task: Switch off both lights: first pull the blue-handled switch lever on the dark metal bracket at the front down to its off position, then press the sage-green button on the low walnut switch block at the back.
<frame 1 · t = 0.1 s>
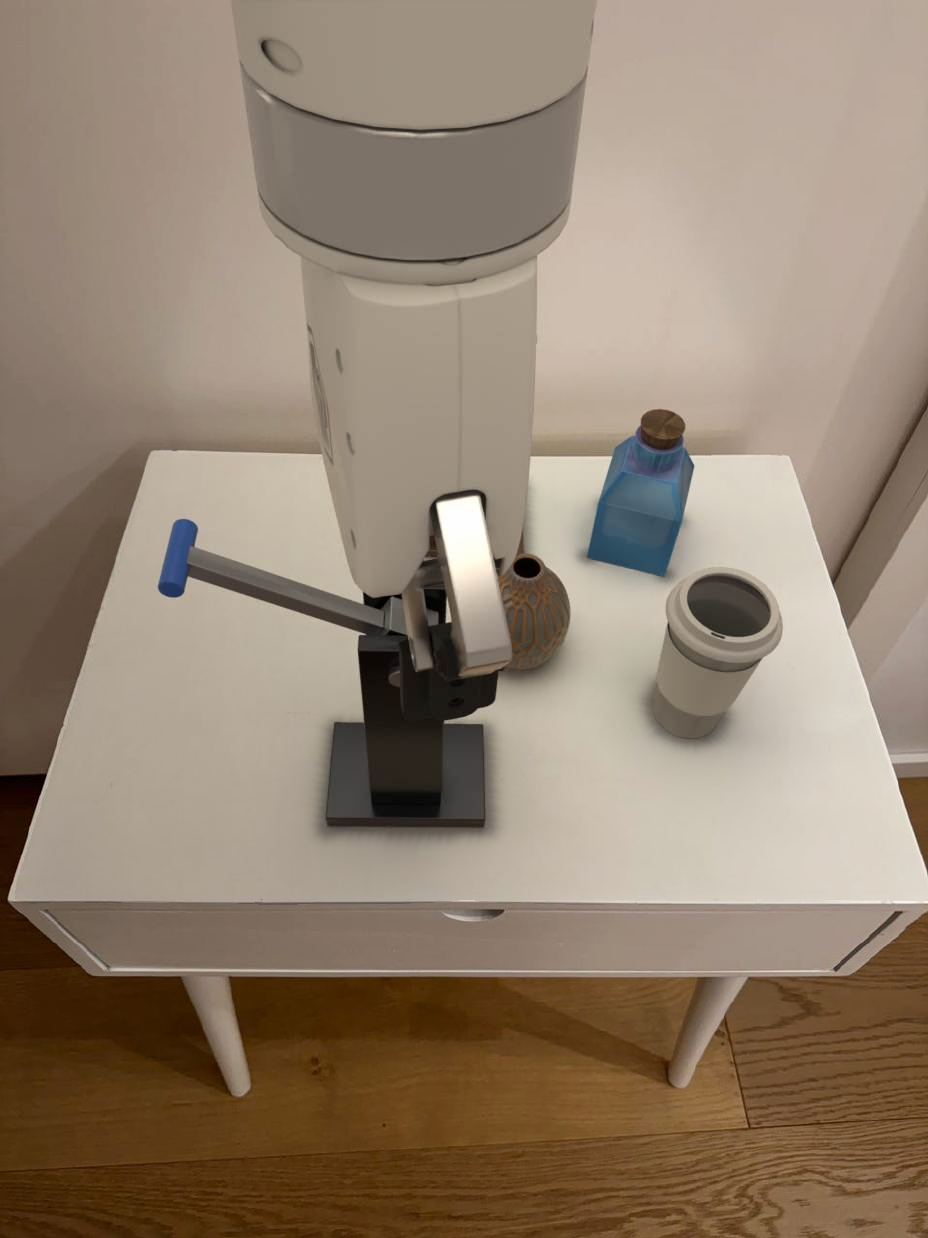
hand: (417, 599, 36), 28 cm above the nightstand, tool pointing down, fingers open, 9 cm apart
cup: (684, 711, 67), on the nightstand
light lever: (304, 599, 48), point 19 cm above the nightstand, hinge at 28.0°
button block: (447, 519, 77), on the nightstand
light button: (448, 493, 74), point 3 cm above the nightstand, slide at 0.1 cm
switch bracket: (407, 778, 63), on the nightstand
vase: (516, 646, 70), on the nightstand
perfume bottle: (632, 541, 76), on the nightstand
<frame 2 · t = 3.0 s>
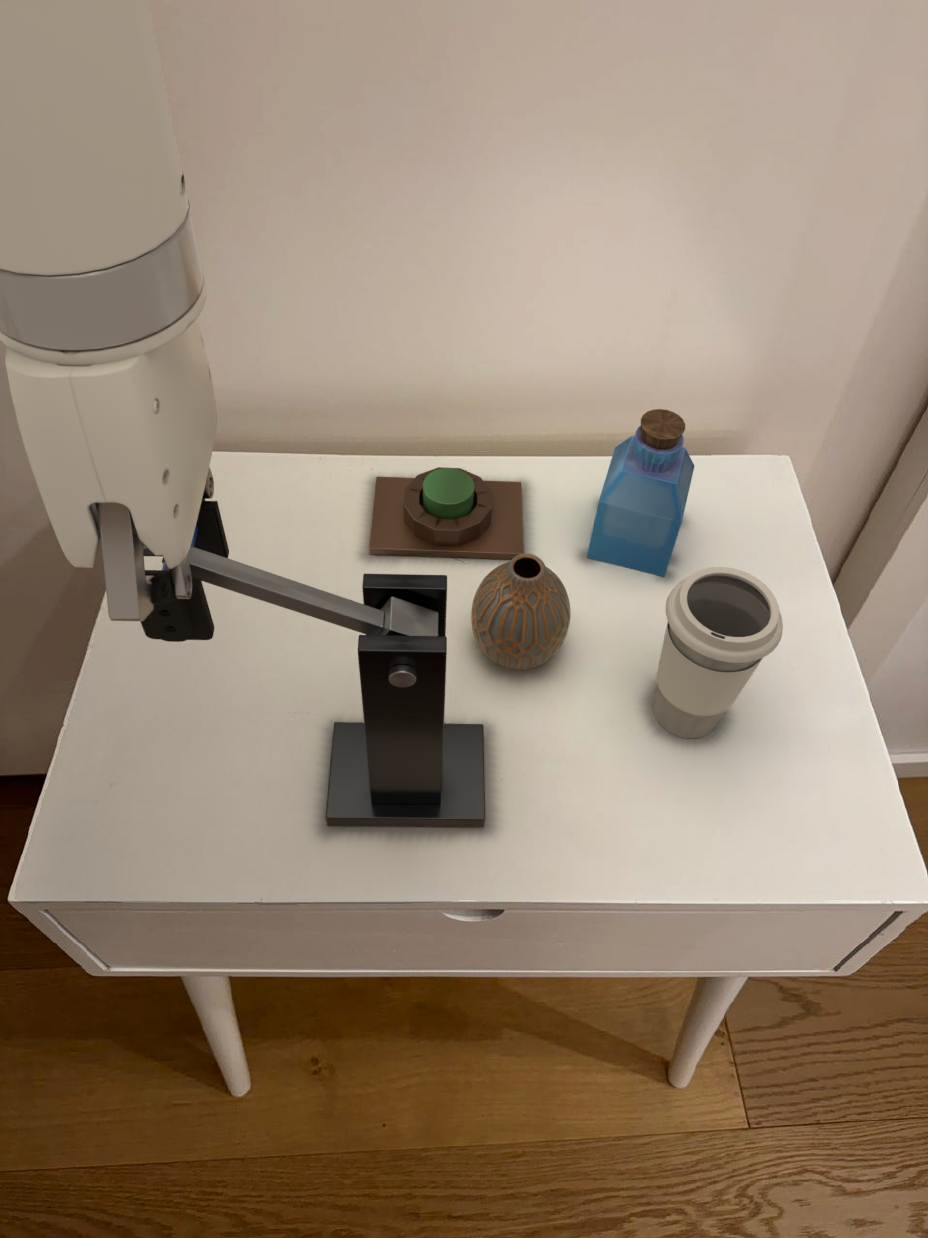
hand: (189, 593, 47), 19 cm above the nightstand, tool pointing down, fingers closed on light lever, 4 cm apart
light lever: (304, 599, 48), point 19 cm above the nightstand, hinge at 28.0°, touching gripper
everything else where it was.
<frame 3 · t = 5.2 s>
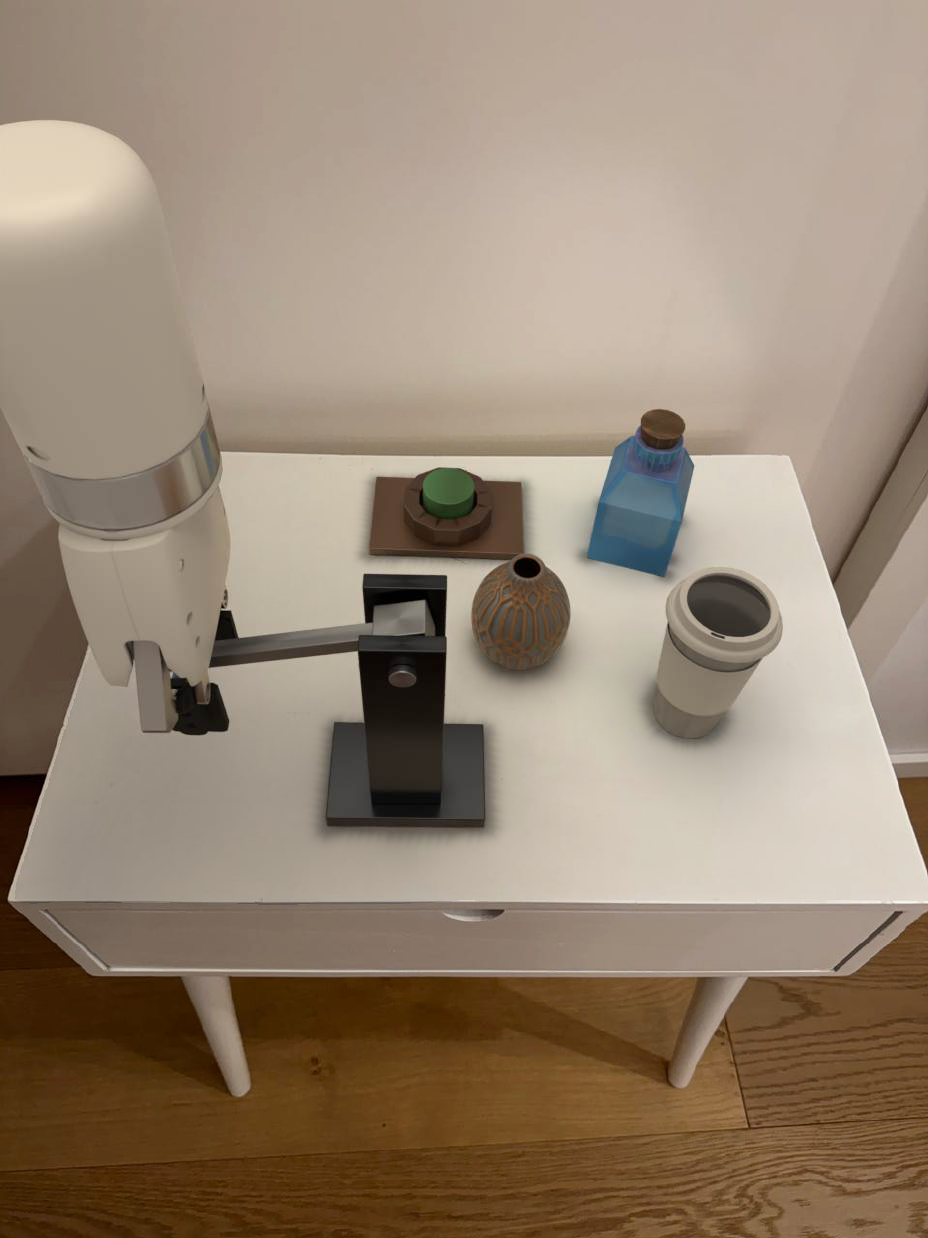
hand: (207, 688, 54), 10 cm above the nightstand, tool pointing down, fingers closed on light lever, 4 cm apart
light lever: (301, 644, 51), point 15 cm above the nightstand, hinge at -12.4°, touching gripper
everything else where it was.
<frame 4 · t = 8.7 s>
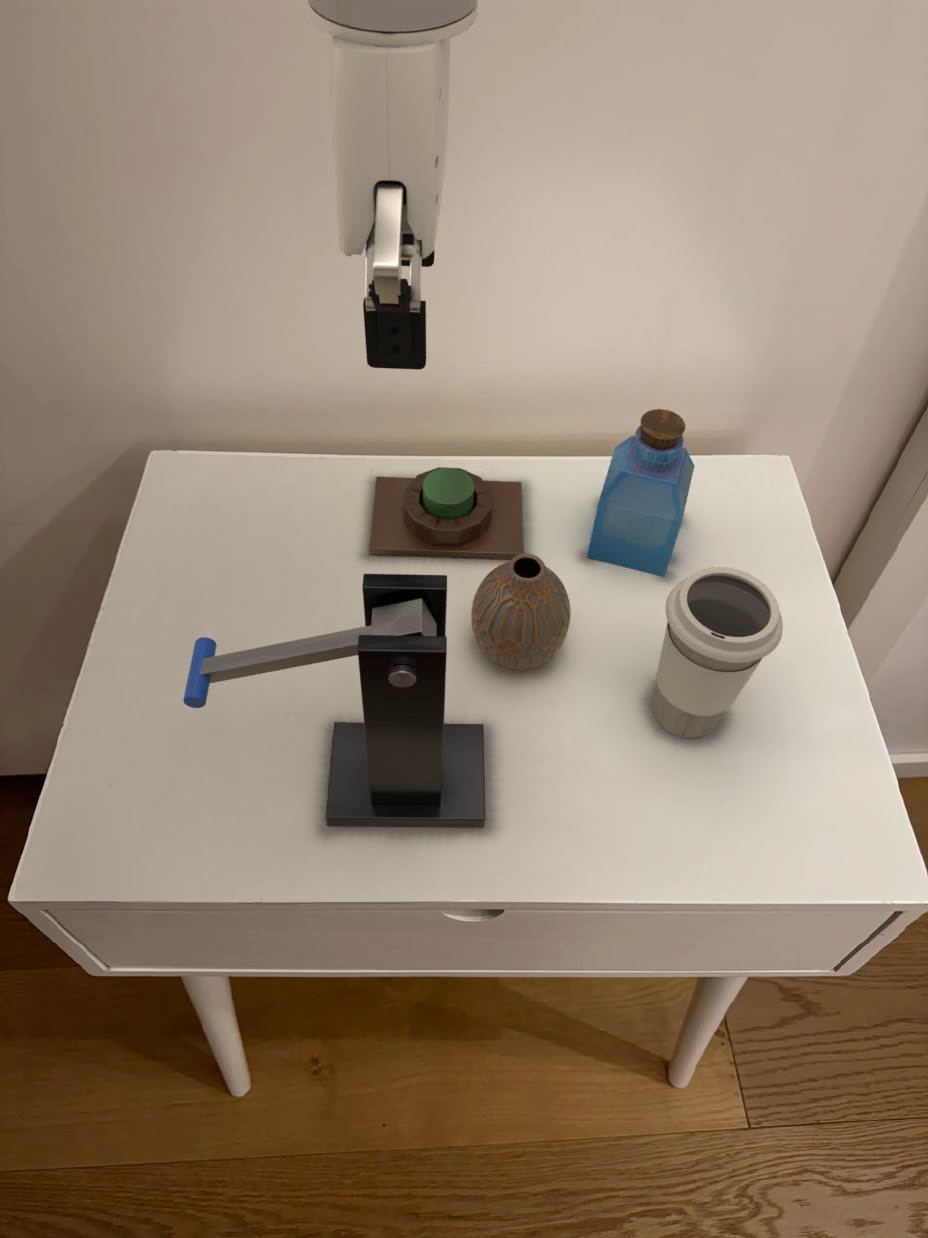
hand: (402, 311, 55), 23 cm above the nightstand, tool pointing down, fingers open, 9 cm apart
light lever: (306, 651, 51), point 14 cm above the nightstand, hinge at -19.5°
everything else where it was.
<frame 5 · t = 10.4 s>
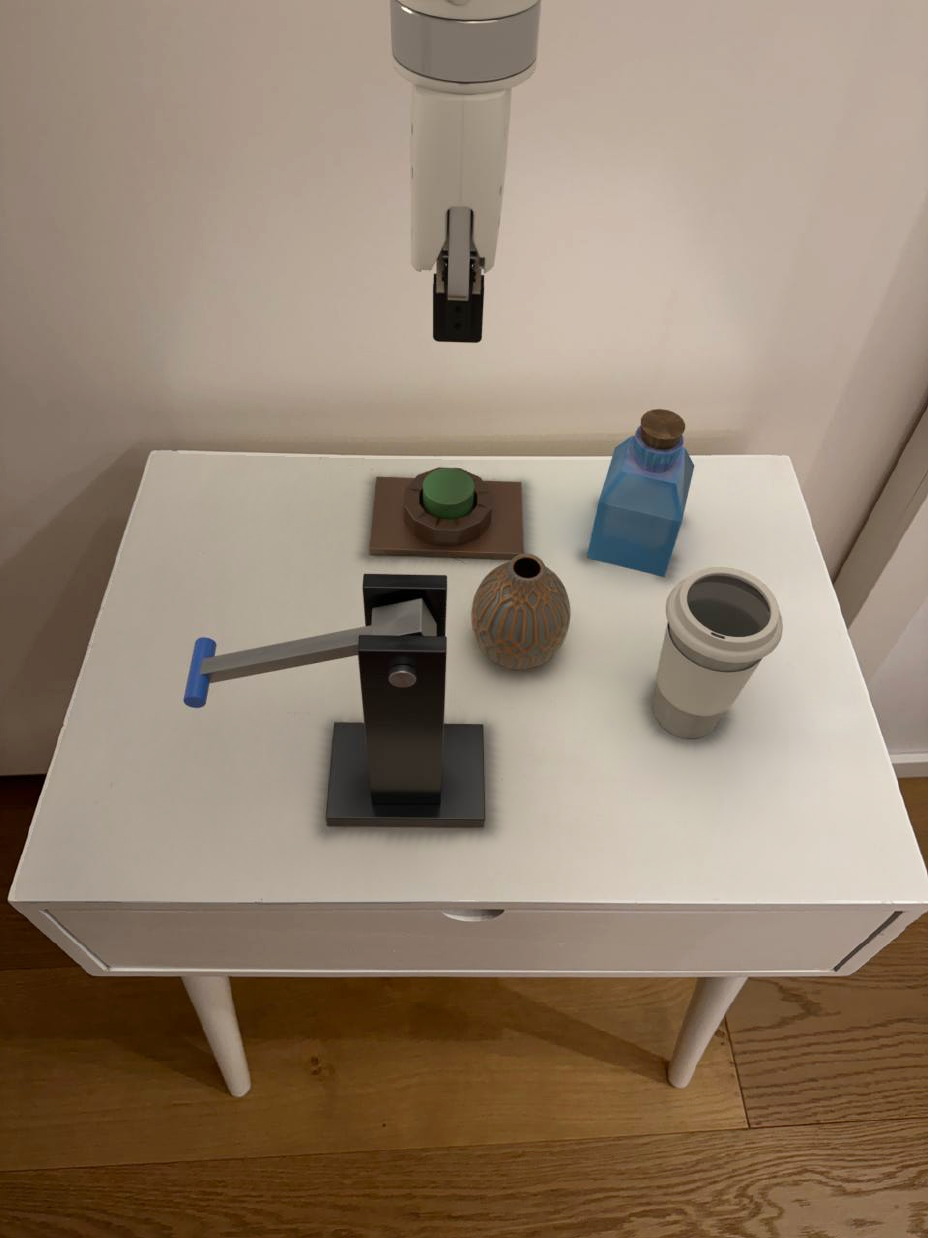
hand: (457, 334, 63), 18 cm above the nightstand, tool pointing down, fingers closed
nothing on the nightstand moved.
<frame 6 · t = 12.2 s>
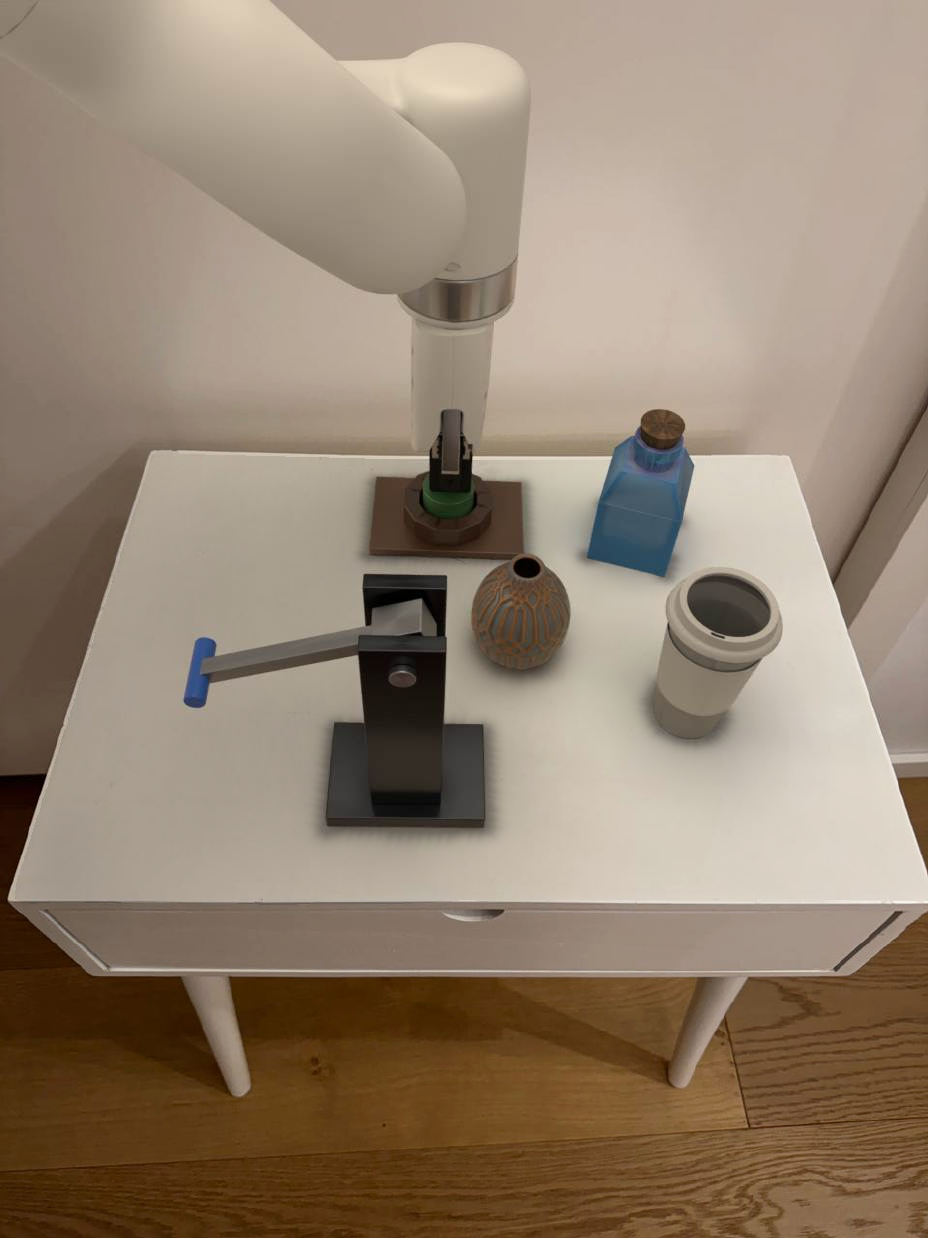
hand: (450, 484, 74), 4 cm above the nightstand, tool pointing down, fingers closed
light button: (448, 493, 74), point 3 cm above the nightstand, slide at 0.1 cm, touching gripper
everything else where it was.
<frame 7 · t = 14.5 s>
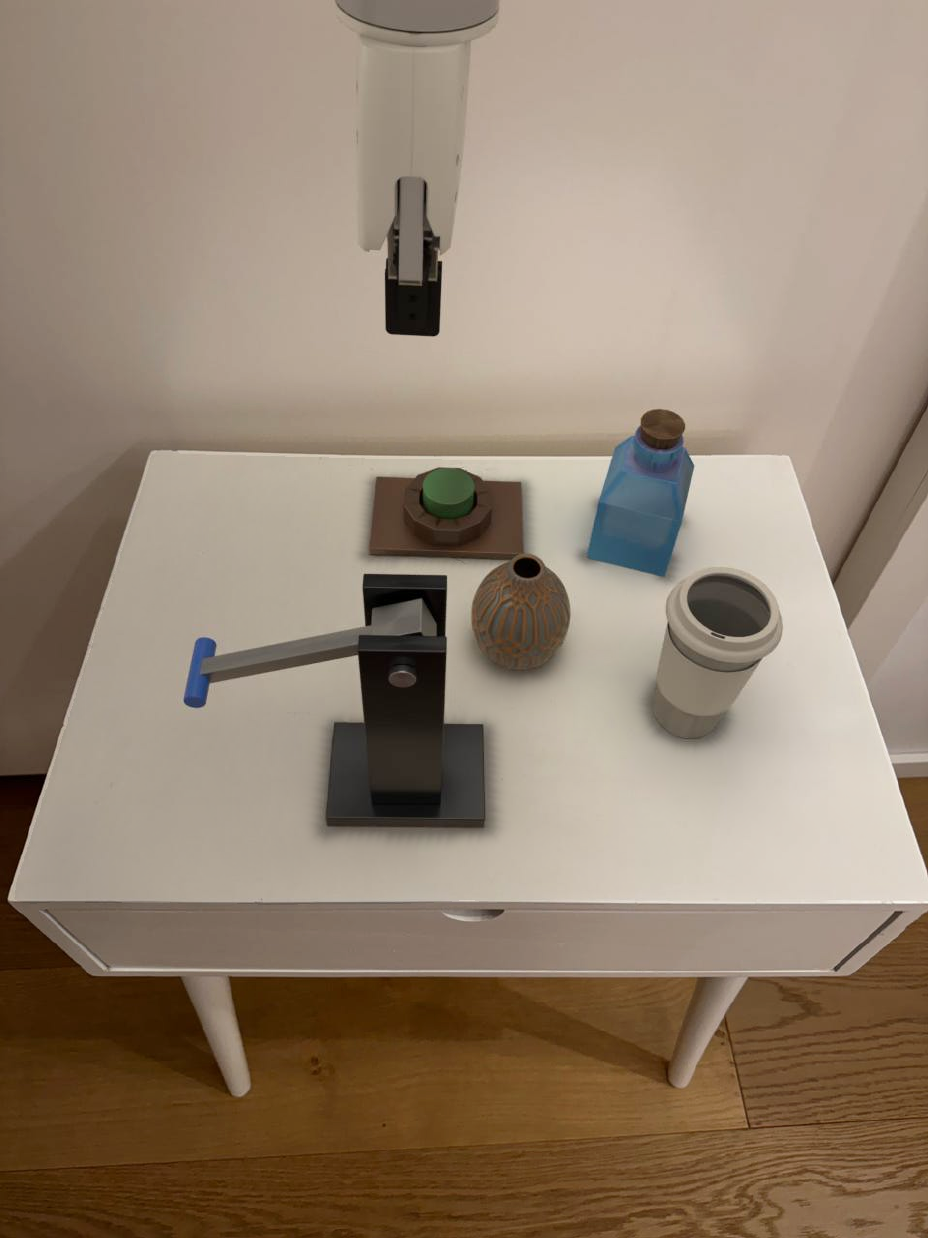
hand: (413, 326, 57), 21 cm above the nightstand, tool pointing down, fingers closed
light button: (448, 493, 74), point 3 cm above the nightstand, slide at 0.1 cm
everything else where it was.
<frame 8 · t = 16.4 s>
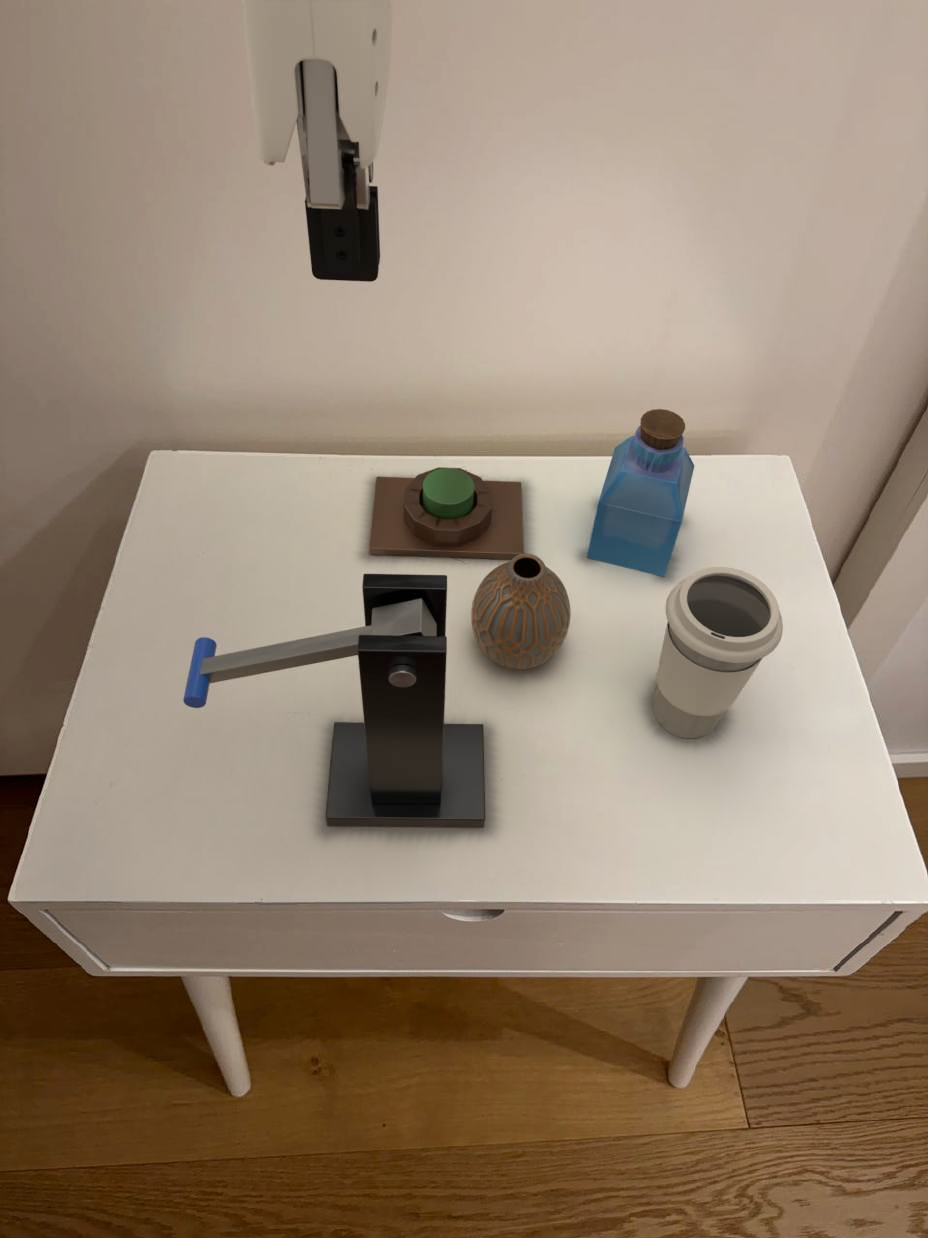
hand: (346, 270, 47), 29 cm above the nightstand, tool pointing down, fingers closed
nothing on the nightstand moved.
at the end: light lever at -20° (first picture: +28°); light button pushed in 1.1 cm at the most during the clip, back to where it started at the end; light button slide at 0.1 cm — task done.
